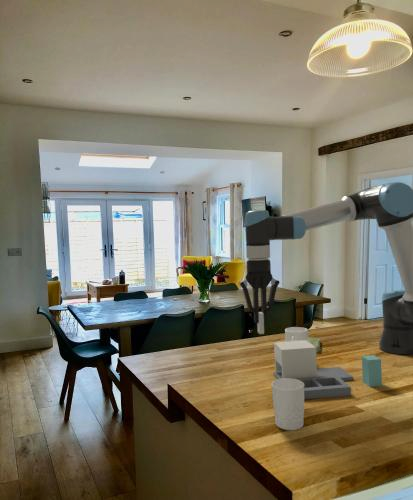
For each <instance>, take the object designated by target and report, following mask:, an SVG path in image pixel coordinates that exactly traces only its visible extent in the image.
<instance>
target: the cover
mask: <svg viewBox="0 0 413 500" xmlns="http://www.w3.org/2000/svg"><path fill="white" fill-rule="evenodd" d="M273 348H274V349H273V350H274V351H273V352H274V353H273V354H274V372H281V371H282V378H305V377H317V368H318V364H317V362H318V360H317V353H316V347H315V346H313V345H312V344H311V343H309V342H308V341H307V340H302V341H288V342H286V341H278V342H273ZM281 366H282V367H281Z"/></svg>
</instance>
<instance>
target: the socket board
mask: <svg viewBox="0 0 413 500" xmlns="http://www.w3.org/2000/svg"><path fill="white" fill-rule="evenodd" d="M292 379H297V380H300V381H302V382H303V383H304V400H309V399H324V398H333V397H345V396H352V387H351V386H350V385H349V384H348V383H347V382H346V381H343V380H342V379H340V378H339V377H338V376H337V375H330V376H317V377H305V378H292Z"/></svg>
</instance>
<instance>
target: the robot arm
mask: <svg viewBox="0 0 413 500" xmlns="http://www.w3.org/2000/svg"><path fill="white" fill-rule="evenodd" d="M360 220H361V221H363V220H376V222H377V223H376V224H377V226H378V228H380V229H382V230H384V231H385V235H386V238H387V240H388V241H387V242H388V243H389V247H390V250H391V252H392V255H393V259H394V262H395V265H396V268H397V270H398V273H399V277H400V280H401V282H402V286H403V289H401V290H399V289H398V290H388V291H384V292H383V293H382V300H381V304H382V306H381V307H382V321H383V322H382V323H383V324H382V327H383V329H382V332H381V336H380V338H379V343H378V346H379V350H381V351H383V352H385V353H388V354H389V353H390V354H396V355H413V224H412V222H413V188H412V187H411V186H410V185H409V184H406V183H405V182H401V181H398V182H387V183H384V184H380V185H376V186H371V187H367V188H365V189H362V190H360V191H357V192H355V193H352V194H349V195H346V196H342V197H341V199H340V200H338V201H334V202H330V203H325V204H321V205H318V206H314V207H310V208H307V209H302V210H298V211H295V212H292V213H287V214H284V215H280V216H270V213H269V210H263V209H257V210H248V211H247V212H246V213H245V220H244V224H245V225H244V227H245V229H244V230H245V242H246V243H245V245H246V247H245V250H246V251H245V252H246V254H245V255H246V259H247V261H246V276H245V279H243V280H241V281H239V283H238V285H239V286H240V287H241V289H242V292H243V295H244V300H245V303H246V307H247V310H248V311H249V312H252V313H253V321H254V323H255V324H257V333H258V334H259V335H264V334H265V324H266V323H267V321H268V318H267V316H268V315H267V313H268V312H270V311H273V308H274V304H275V297H276V294H277V288H278V286H279V284H280V281H279V280H277V279H275V278H274V277H273V274H272V271H271V269H272V268H271V267H272V266H271V259H270V258H271V244H270V242H271V241H275V240H276V241H284V240H301V239H302V238H304V237H305V234H306V232H307V231H310V230H315V229H319V228H321V227H325V226H329V225H332V224H336V223H340V222H343V221H346V222H349V223H351V222H354V221H355V222H356V221H360ZM248 285H249V286H250V287H251V288H252V300H251V297H250V292H249V290H248V289H249V288H248ZM269 285H271V286H270V290H269V295H268V298H267V287H268V286H269ZM259 289H260V300H259ZM252 301H253V303H252ZM259 301H260V304H261V305H260V304H259ZM259 306H260V307H261V309H259V308H260V307H259ZM260 310H261V311H260Z"/></svg>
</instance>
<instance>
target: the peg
mask: <svg viewBox="0 0 413 500" xmlns="http://www.w3.org/2000/svg"><path fill="white" fill-rule="evenodd" d="M361 369H362V370H361V371H362V373H361V374H362V382H363V384H365V385H366V386H367V387H369V388H370V387H371V388H372V387H381V386H383V377H382V376H383V375H382V359H381V358H380V357H378V356H376V355H362V356H361Z"/></svg>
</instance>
